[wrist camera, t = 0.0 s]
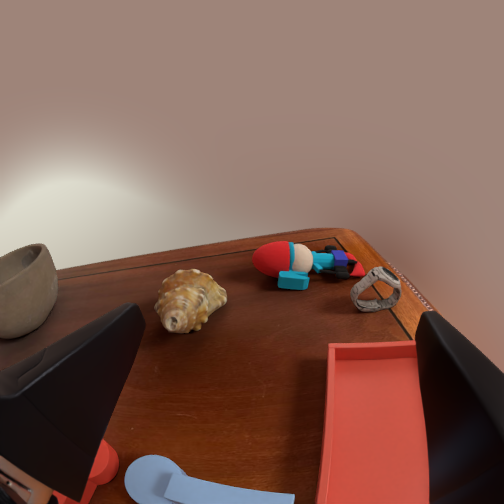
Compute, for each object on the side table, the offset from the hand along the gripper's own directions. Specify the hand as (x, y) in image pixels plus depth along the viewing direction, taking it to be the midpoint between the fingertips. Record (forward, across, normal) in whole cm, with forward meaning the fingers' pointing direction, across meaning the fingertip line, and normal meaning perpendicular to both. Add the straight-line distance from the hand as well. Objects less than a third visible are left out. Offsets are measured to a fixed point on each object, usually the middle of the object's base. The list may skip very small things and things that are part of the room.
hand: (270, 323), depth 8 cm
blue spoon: (-3, +5, +16) cm, 17 cm away
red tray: (+4, -8, +16) cm, 18 cm away
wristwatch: (+20, -8, +16) cm, 26 cm away
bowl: (+11, +42, +16) cm, 46 cm away
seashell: (+16, +12, +16) cm, 26 cm away
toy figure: (+27, 0, +16) cm, 31 cm away
